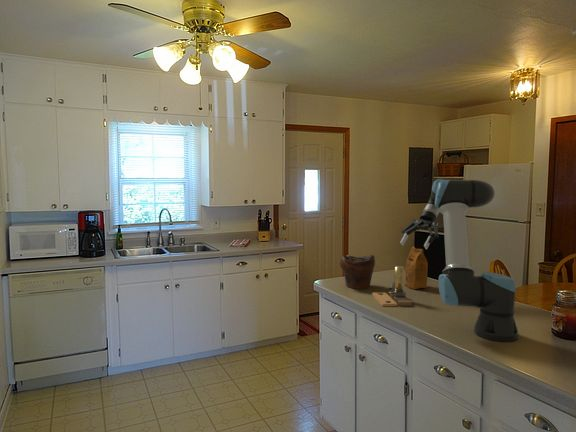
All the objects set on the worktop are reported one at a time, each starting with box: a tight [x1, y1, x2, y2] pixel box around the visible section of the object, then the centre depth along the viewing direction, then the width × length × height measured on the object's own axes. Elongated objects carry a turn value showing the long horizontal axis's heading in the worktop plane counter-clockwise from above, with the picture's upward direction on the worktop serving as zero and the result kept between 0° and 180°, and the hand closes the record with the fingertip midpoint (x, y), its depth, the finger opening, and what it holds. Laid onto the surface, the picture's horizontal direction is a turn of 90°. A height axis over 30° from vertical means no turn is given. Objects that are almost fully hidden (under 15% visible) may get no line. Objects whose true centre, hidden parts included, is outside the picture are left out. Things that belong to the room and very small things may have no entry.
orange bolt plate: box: [371, 292, 398, 307], centre depth 208 cm, size 20×7×1 cm, turn 2°
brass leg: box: [389, 265, 407, 297], centre depth 209 cm, size 6×7×14 cm
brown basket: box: [339, 254, 376, 290], centre depth 235 cm, size 18×20×18 cm
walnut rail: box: [385, 281, 413, 307], centre depth 208 cm, size 20×8×7 cm, turn 2°
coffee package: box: [404, 246, 429, 290], centre depth 234 cm, size 10×12×22 cm
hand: (413, 246), depth 216 cm, fingers open, 13 cm apart
